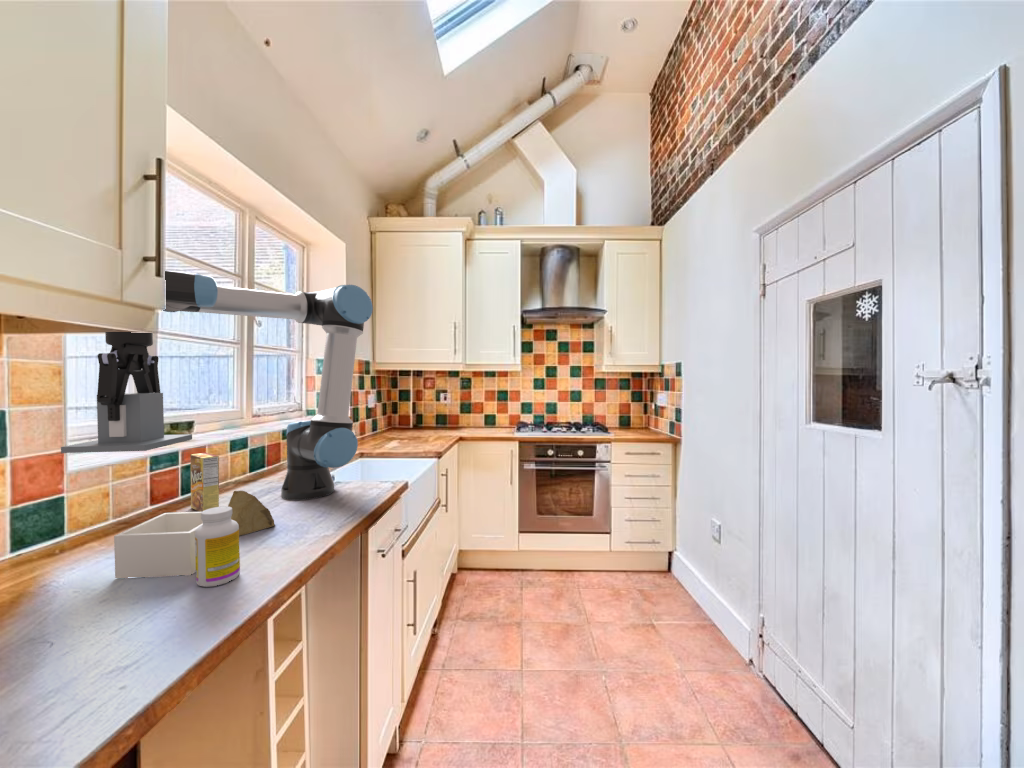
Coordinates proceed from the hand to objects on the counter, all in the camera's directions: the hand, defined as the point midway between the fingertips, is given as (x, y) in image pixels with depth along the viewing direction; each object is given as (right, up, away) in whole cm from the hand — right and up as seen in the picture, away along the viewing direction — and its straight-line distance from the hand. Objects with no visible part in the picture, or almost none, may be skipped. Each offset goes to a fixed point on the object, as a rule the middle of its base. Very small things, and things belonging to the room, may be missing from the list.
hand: (132, 433), depth 91 cm
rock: (+19, -25, +11) cm, 33 cm away
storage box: (+14, -25, -6) cm, 30 cm away
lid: (0, -3, 0) cm, 3 cm away
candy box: (-4, -25, +27) cm, 37 cm away
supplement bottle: (+28, -25, -13) cm, 40 cm away
